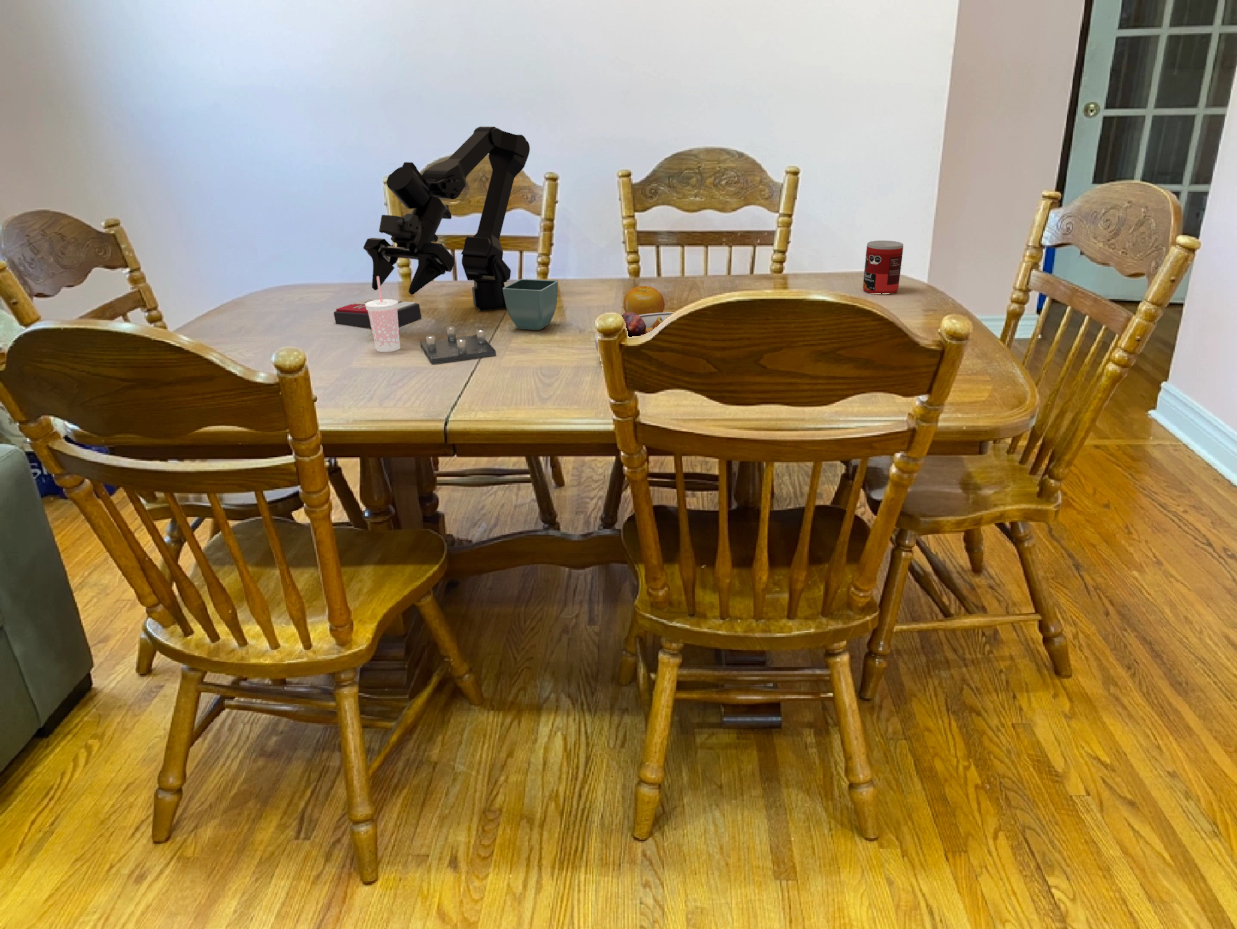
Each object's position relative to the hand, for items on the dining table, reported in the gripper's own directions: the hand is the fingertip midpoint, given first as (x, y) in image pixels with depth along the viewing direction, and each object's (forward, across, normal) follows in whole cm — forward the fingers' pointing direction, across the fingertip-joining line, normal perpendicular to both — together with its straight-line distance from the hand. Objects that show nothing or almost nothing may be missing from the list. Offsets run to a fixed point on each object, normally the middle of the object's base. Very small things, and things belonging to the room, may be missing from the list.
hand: (391, 291), depth 162 cm
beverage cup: (+10, 0, +5) cm, 11 cm away
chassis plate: (+7, +14, +8) cm, 17 cm away
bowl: (-2, +54, +18) cm, 57 cm away
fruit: (-18, +36, +33) cm, 52 cm away
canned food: (-49, +76, +63) cm, 110 cm away
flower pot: (-8, +18, +22) cm, 30 cm away
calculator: (0, -16, +16) cm, 23 cm away
